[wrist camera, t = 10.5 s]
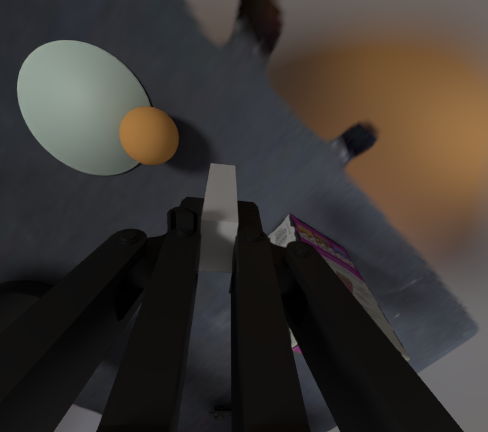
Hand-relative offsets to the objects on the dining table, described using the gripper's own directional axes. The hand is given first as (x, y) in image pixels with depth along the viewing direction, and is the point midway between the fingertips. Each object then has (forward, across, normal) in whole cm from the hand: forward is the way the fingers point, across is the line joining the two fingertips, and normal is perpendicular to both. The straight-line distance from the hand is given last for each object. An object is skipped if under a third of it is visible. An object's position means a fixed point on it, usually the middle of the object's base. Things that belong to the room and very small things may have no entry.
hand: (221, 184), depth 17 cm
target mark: (+14, +14, 0) cm, 20 cm away
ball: (+11, +7, +1) cm, 13 cm away
